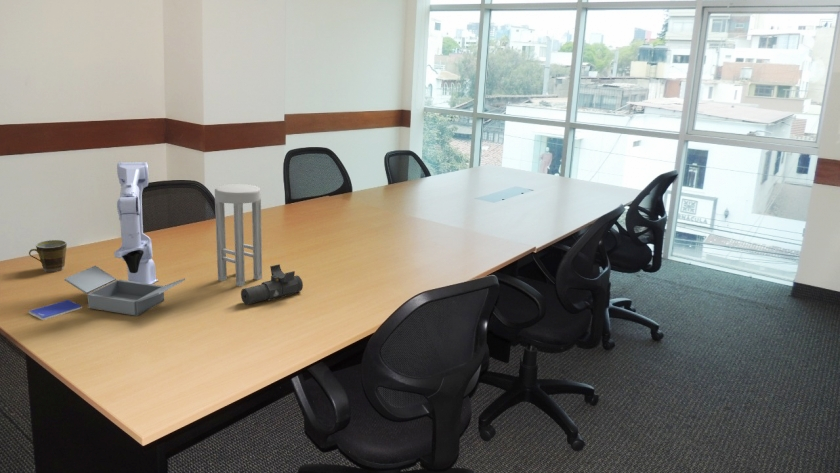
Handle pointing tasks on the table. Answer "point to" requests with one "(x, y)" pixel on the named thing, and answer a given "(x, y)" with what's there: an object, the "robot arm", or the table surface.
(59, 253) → the ceramic cup
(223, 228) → the stool
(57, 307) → the hard drive
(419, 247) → the table surface
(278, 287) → the laser sight
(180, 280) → the flap
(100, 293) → the carton
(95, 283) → the flap
